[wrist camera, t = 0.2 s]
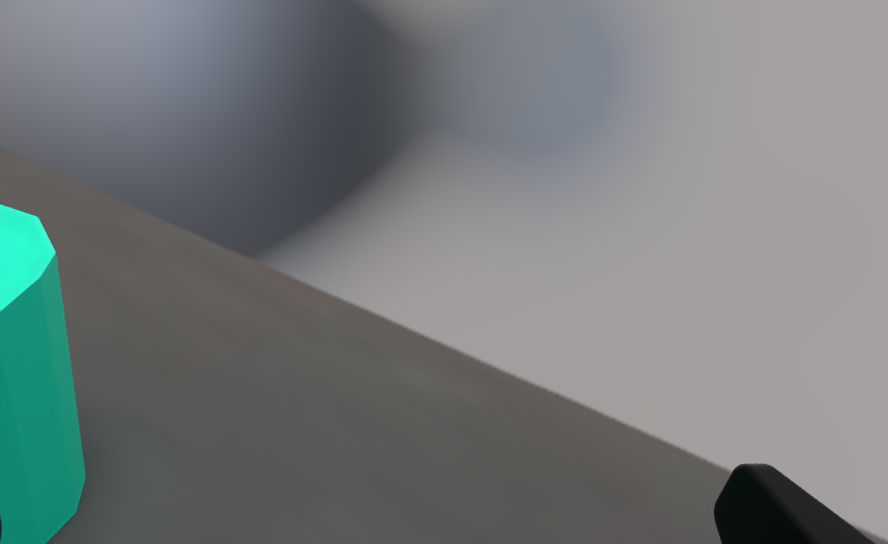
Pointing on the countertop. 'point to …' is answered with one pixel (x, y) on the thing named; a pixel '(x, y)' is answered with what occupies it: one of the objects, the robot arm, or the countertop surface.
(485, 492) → the countertop surface
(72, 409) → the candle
